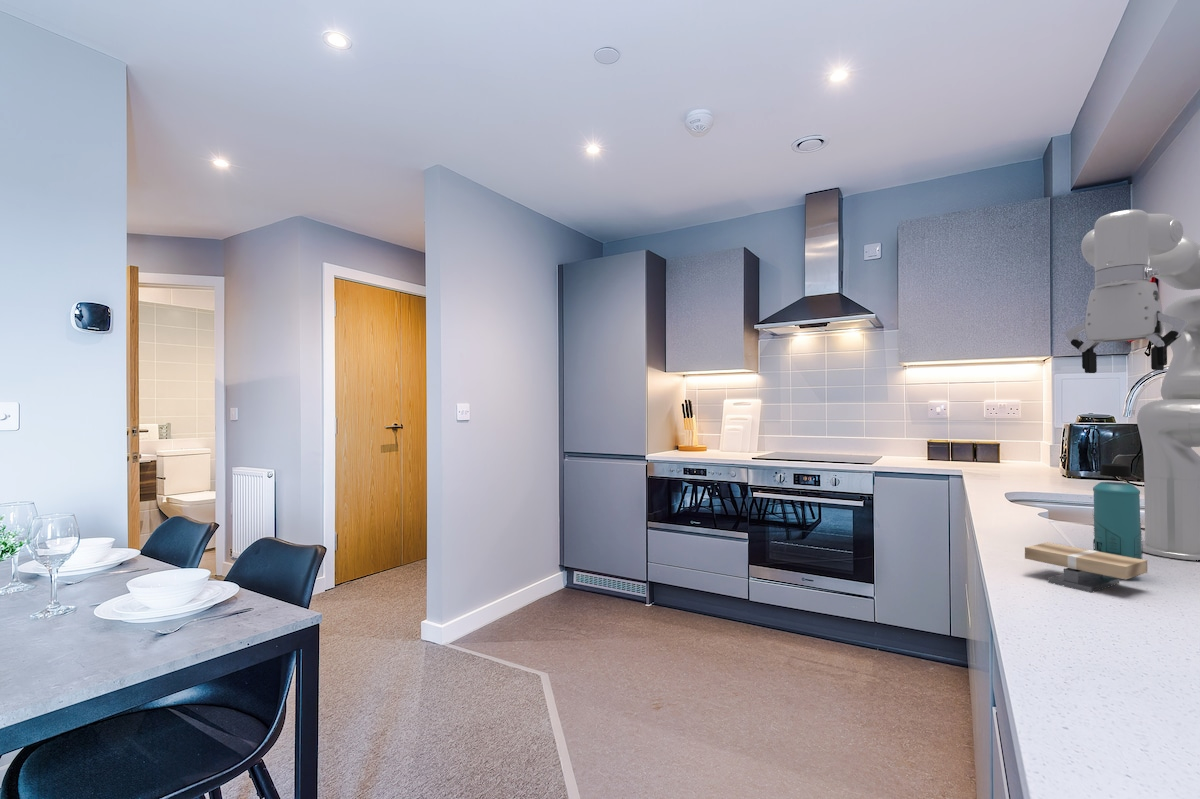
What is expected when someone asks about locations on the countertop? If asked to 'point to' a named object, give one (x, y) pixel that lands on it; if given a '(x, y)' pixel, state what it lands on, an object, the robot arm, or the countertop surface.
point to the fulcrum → (1083, 580)
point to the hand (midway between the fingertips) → (1122, 371)
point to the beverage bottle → (1117, 514)
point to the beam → (1087, 560)
